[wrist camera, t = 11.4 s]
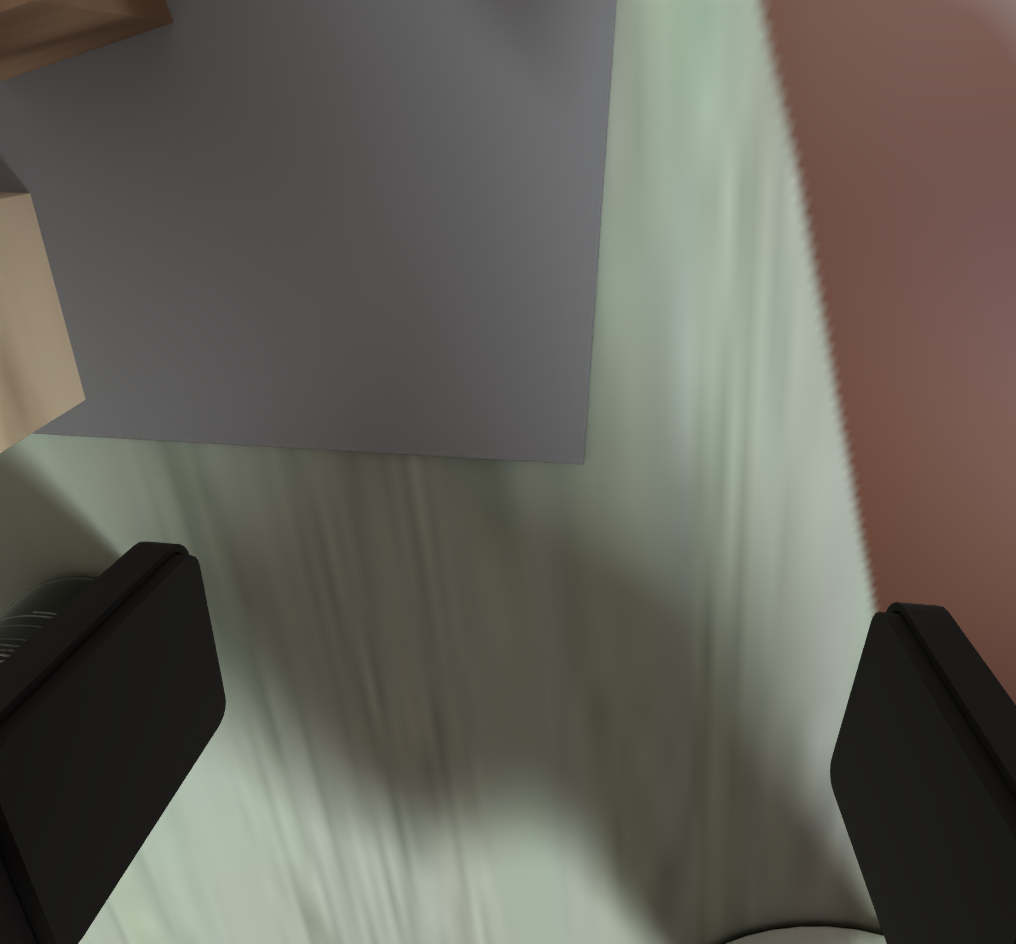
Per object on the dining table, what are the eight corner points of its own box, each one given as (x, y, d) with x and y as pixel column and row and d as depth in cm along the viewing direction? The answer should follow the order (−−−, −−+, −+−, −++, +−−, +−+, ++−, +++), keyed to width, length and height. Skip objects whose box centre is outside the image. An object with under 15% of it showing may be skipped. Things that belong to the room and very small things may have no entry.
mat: (633, -254, 14) (635, -261, 14) (583, 460, 22) (583, 464, 22) (-439, -230, 16) (-456, -235, 16) (-145, 419, 24) (-153, 423, 24)
